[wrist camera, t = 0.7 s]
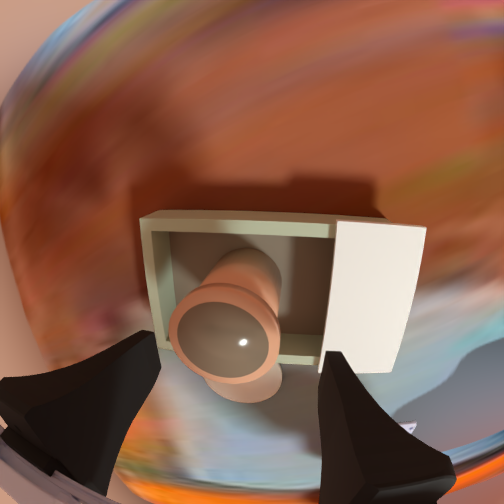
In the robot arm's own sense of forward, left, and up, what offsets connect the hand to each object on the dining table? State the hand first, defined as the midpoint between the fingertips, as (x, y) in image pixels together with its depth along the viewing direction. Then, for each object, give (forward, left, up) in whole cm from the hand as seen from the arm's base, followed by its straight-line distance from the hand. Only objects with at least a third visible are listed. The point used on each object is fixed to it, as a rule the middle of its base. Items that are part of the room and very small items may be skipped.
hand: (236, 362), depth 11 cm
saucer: (-10, +2, -10) cm, 14 cm away
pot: (-1, +1, -10) cm, 10 cm away
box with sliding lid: (-1, 0, -10) cm, 10 cm away
